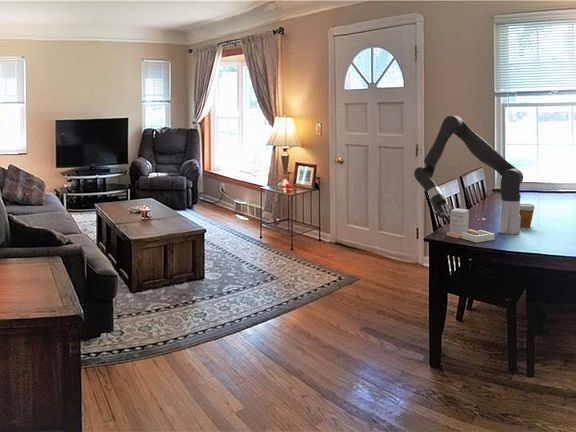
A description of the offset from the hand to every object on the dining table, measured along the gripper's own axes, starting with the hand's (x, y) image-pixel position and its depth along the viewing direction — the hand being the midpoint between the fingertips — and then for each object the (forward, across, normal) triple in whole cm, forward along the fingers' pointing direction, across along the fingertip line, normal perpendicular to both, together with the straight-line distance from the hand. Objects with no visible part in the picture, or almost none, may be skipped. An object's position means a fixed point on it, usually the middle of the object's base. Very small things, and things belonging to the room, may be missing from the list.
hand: (450, 223), depth 292 cm
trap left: (+10, -6, -4) cm, 13 cm away
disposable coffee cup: (+10, +43, -4) cm, 44 cm away
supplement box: (+8, 0, -1) cm, 8 cm away
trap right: (+10, +6, -4) cm, 13 cm away
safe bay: (+17, 0, -11) cm, 20 cm away
